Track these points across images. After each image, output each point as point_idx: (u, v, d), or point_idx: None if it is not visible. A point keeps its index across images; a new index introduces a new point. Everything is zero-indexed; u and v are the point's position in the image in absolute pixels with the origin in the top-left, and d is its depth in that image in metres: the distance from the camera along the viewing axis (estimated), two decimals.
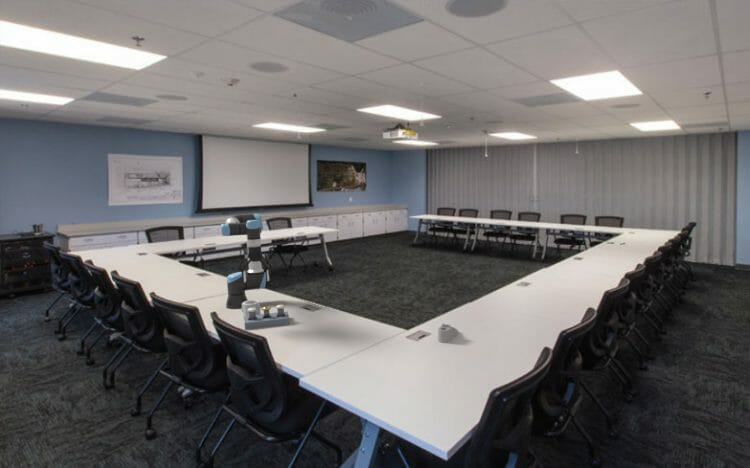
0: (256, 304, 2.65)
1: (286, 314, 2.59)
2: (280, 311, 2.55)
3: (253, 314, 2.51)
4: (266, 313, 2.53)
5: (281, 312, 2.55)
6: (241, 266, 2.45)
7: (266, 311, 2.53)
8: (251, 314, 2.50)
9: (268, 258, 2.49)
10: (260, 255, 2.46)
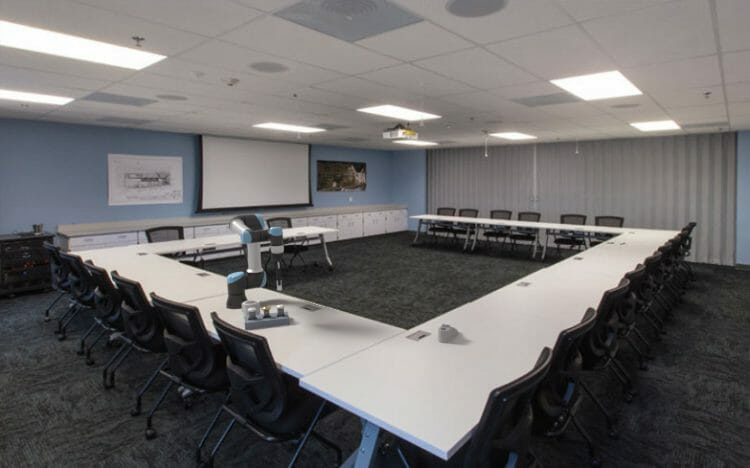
0: (256, 304, 2.65)
1: (286, 314, 2.59)
2: (280, 311, 2.55)
3: (253, 314, 2.51)
4: (266, 313, 2.53)
5: (281, 312, 2.55)
6: (276, 273, 2.57)
7: (266, 311, 2.53)
8: (251, 314, 2.50)
9: (280, 270, 2.49)
10: (276, 262, 2.50)
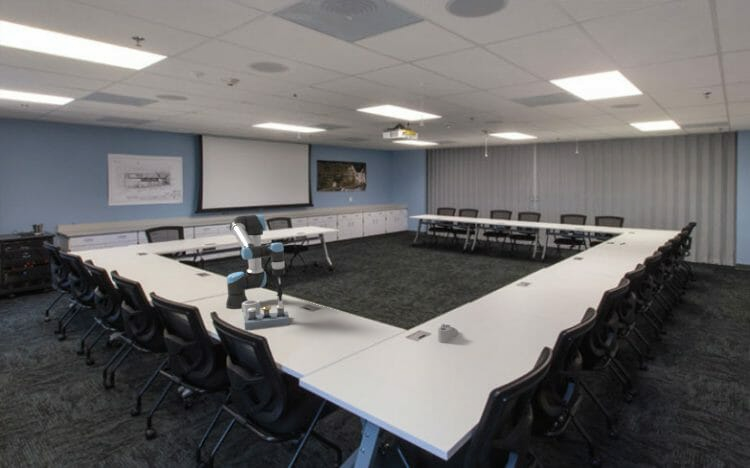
0: (256, 304, 2.65)
1: (286, 314, 2.59)
2: (280, 311, 2.55)
3: (253, 314, 2.51)
4: (266, 313, 2.53)
5: (281, 312, 2.55)
6: None
7: (266, 311, 2.53)
8: (251, 314, 2.50)
9: (281, 286, 2.50)
10: (277, 278, 2.51)
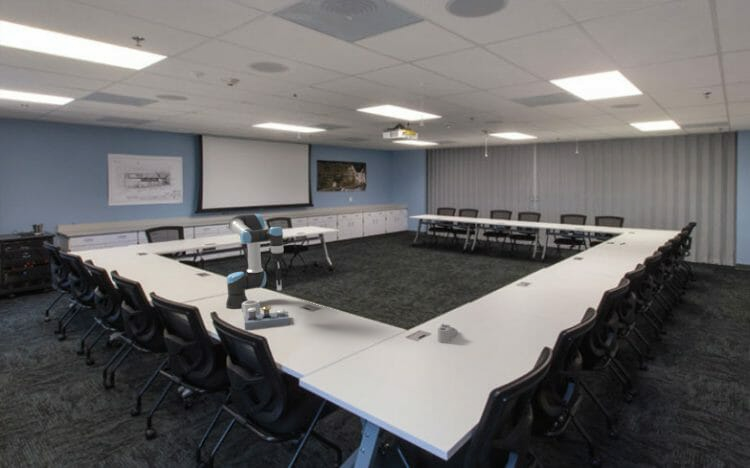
0: (256, 304, 2.65)
1: (286, 314, 2.59)
2: (280, 316, 2.55)
3: (253, 314, 2.51)
4: (266, 313, 2.53)
5: None
6: None
7: (266, 311, 2.53)
8: (251, 314, 2.50)
9: (280, 270, 2.49)
10: (276, 262, 2.50)
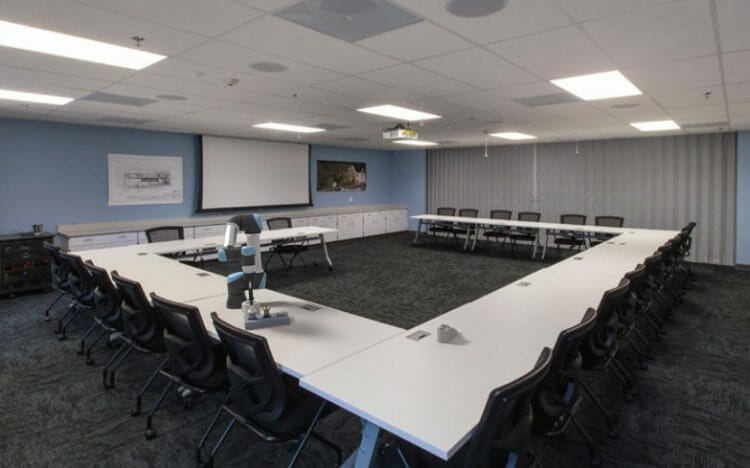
0: (256, 304, 2.65)
1: (286, 314, 2.59)
2: (280, 316, 2.55)
3: (253, 315, 2.51)
4: (266, 313, 2.53)
5: None
6: None
7: (266, 311, 2.53)
8: (251, 315, 2.50)
9: (252, 290, 2.46)
10: (248, 282, 2.46)
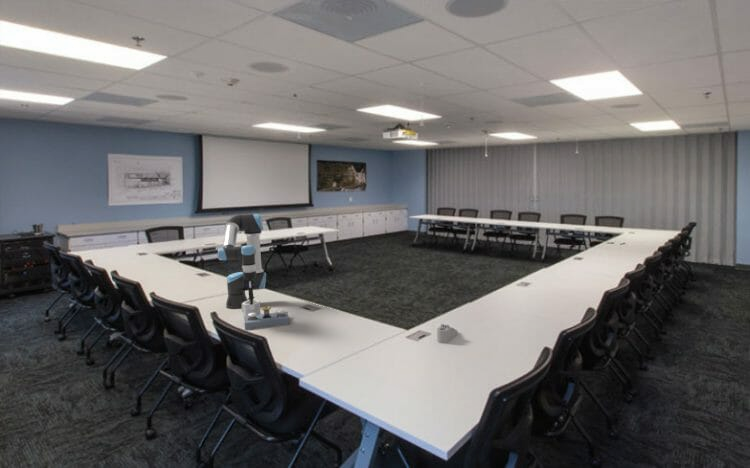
0: (256, 304, 2.65)
1: (286, 314, 2.59)
2: (280, 316, 2.55)
3: (253, 319, 2.51)
4: (266, 313, 2.53)
5: None
6: None
7: (266, 311, 2.53)
8: (251, 319, 2.51)
9: (252, 290, 2.46)
10: (248, 281, 2.46)
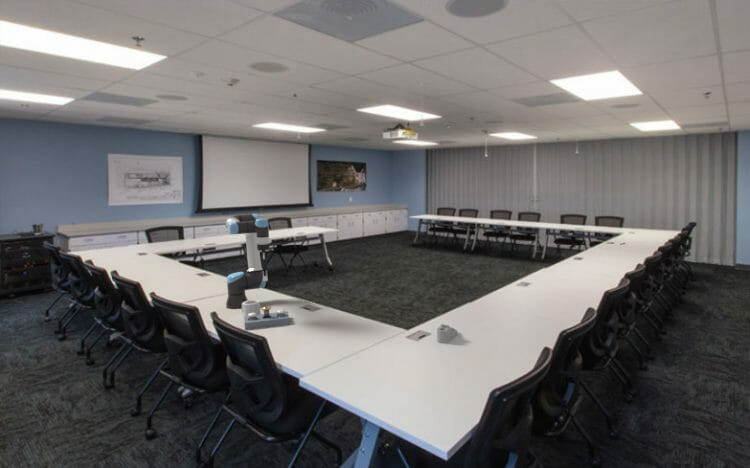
0: (256, 304, 2.65)
1: (286, 314, 2.59)
2: (280, 316, 2.55)
3: (253, 319, 2.51)
4: (266, 313, 2.53)
5: None
6: None
7: (266, 311, 2.53)
8: (251, 319, 2.51)
9: (265, 261, 2.54)
10: (261, 253, 2.55)
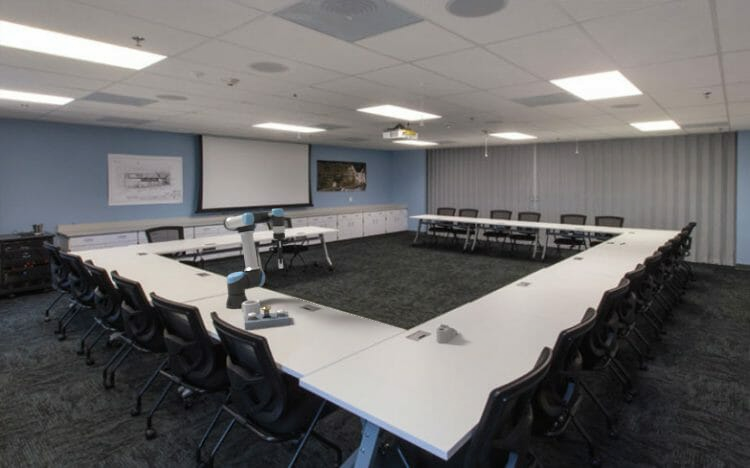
0: (256, 304, 2.65)
1: (286, 314, 2.59)
2: (280, 316, 2.55)
3: (253, 319, 2.51)
4: (266, 313, 2.53)
5: None
6: None
7: (266, 311, 2.53)
8: (251, 319, 2.51)
9: (281, 249, 2.65)
10: (278, 241, 2.65)
